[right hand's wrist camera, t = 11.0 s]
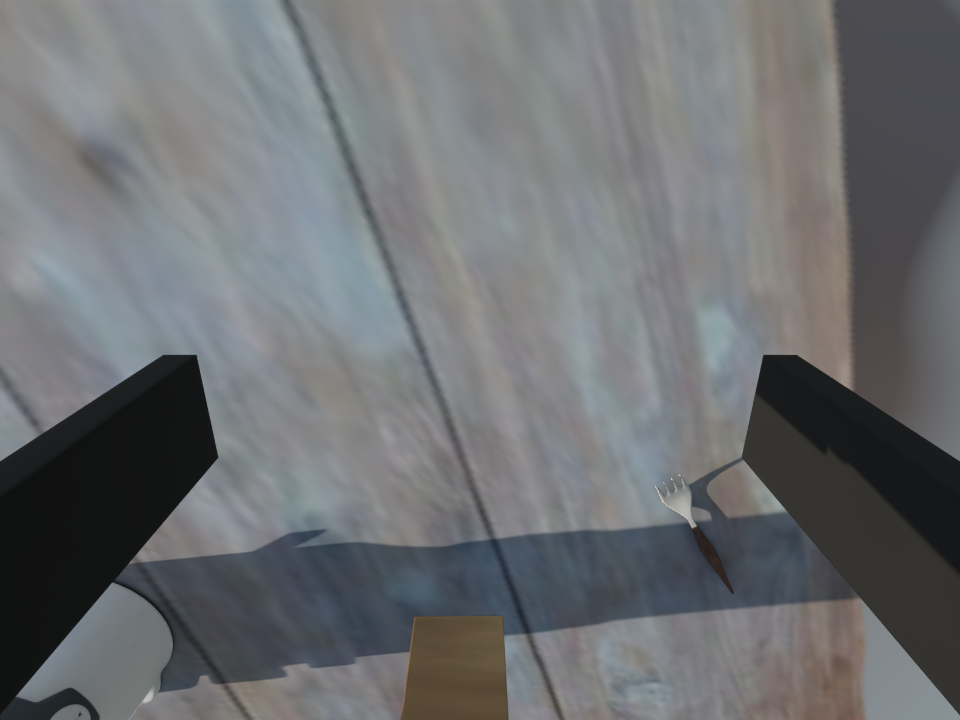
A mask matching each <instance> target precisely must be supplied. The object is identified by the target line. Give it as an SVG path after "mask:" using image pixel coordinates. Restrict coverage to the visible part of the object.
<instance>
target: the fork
mask: <svg viewBox="0 0 960 720" xmlns="http://www.w3.org/2000/svg"><path fill="white" fill-rule="evenodd" d="M679 476H680V479H681V482H682V487H679V486H678V485H677V484H676V482H675V481H674V480H673V479H672V478H671V479H672V483H673V485H674V488H675V490H673V491H672V490H671V489H670V488H669V487H668V486H667V485H666V484H665V483H664V482H663V483H664V486H665V488H666V490H667V494H663V493H662V491H661V490H660V489H659V488H658V487H657V486H655V487H656V489H657V491H658V493H659V495H660V497H661V500H662V502H663V503H664V504H665V505H666V506H668V507H669V508H671V509H672V510H674V511H676V512H677V513H679V514H681V515H683V516H684V517H685V518H686V519H687V520H688V521H689V523H690V525H691V527H692V530H693V532H694V535H695V537H696V540H697V542H698V544H699V547H700V549H701V551H702V553H703V555H704V557H705V558H706V560H707V561H708V562H709V564H710V565H711V566H712V567H713V569H714V570H715V571H716V572H717V574H718V575H719V576H720V578H721V579H722V580H723V582H724V583H725V585H726V586H727V587H728V589H729V590H730V591H731V593H732V594H733V593H734V592H733V589H732V587H731V585H730V583H729V580H728V578H727V576H726V573H725V571H724V569H723V566H722V564H721V561H720V559H719V556H718V554H717V552H716V550H715V549H714V547H713V546H712V544H711V543H710V542H709V540H708V539H707V538H706V536H705V535H704V534H703V532H702V531H701V530H700V529H699V527H698V526H697V525H696V523H695V522H694V520H693V519H692V515H691V505H692V493H691V489H690V487H689V486H688V485H687V483H686V482H685V480H684V479H683V478H682V476H681V475H680V474H679Z"/></svg>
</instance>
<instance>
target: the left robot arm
mask: <svg viewBox="0 0 960 720" xmlns="http://www.w3.org/2000/svg"><path fill="white" fill-rule="evenodd" d="M172 650H173V639H172V635H171V632H170V629H169V627H168V625H167V623H166V621H165V620H164V618H163V617H162V615H161V614H160V613H159V612H158V611H157V610H156V609H155V608H154V607H153V606H152V605H151V604H150V603H149V602H148V601H146V600H145V599H144V598H142V597H141V596H139V595H138V594H136V593H135V592H133V591H131V590H129V589H127V588H125V587H123V586H121V585H118V584H115V583H113V582H112V584H111V585H110V586H109V587H108V588H107V590H106V591H105V592H104V593H103V594H102V595H101V597H100V598H99V599H98V600H97V601H96V603H95V604H94V605H93V606H92V607H91V608H90V610H89V611H88V612H87V613H86V614H85V616H84V617H83V618H82V619H81V620H80V621H79V623H78V624H77V625H76V626H75V627H74V629H73V630H72V631H71V632H70V633H69V634H68V636H67V637H66V638H65V639H64V640H63V642H62V643H61V644H60V645H59V646H58V647H57V649H56V650H55V651H54V652H53V653H52V654H51V656H50V657H49V658H48V659H47V660H46V662H45V663H44V664H43V665H42V666H41V667H40V669H39V670H38V671H37V672H36V673H35V675H34V676H33V677H32V678H31V679H30V680H29V682H28V683H27V684H26V685H25V686H24V688H23V689H22V690H21V691H20V692H19V693H18V695H17V696H16V697H15V698H14V699H13V701H12V702H11V703H10V704H9V705H8V706H7V708H6V709H5V710H4V711H3V712H2V714H1V715H0V720H130V718H131V717H132V716H133V714H134V713H135V711H136V710H137V709H138V707H139V706H140V704H141V703H147V702H150V701H152V700H153V699H154V698H155V696H156V695H157V693H158V692H159V690H160V686H161V676H160V675H161V672H162V671H163V669H164V668H165V666H166V665H167V663H168V662H169V660H170V658H171V655H172Z"/></svg>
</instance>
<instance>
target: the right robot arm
mask: <svg viewBox="0 0 960 720" xmlns="http://www.w3.org/2000/svg"><path fill="white" fill-rule="evenodd" d="M217 458H218V454H217V449H216V444H215V440H214V435H213V430H212V426H211V421H210V416H209V412H208V407H207V402H206V397H205V393H204V388H203V383H202V379H201V374H200V369H199V365H198V360H197V355H163V356H161V357H160V358H158V359H156V360H155V361H153V362H152V363H150V364H149V365H147V366H146V367H144V368H143V369H141V370H140V371H138V372H137V373H135V374H133V375H132V376H130V377H129V378H127V379H126V380H124V381H123V382H121V383H120V384H118V385H117V386H115V387H114V388H112V389H110V390H109V391H107V392H106V393H104V394H103V395H101V396H100V397H98V398H97V399H95V400H94V401H92V402H91V403H89V404H88V405H86V406H84V407H83V408H81V409H80V410H78V411H77V412H75V413H74V414H72V415H71V416H69V417H68V418H66V419H65V420H63V421H61V422H60V423H58V424H57V425H55V426H54V427H52V428H51V429H49V430H48V431H46V432H45V433H43V434H42V435H40V436H38V437H37V438H35V439H34V440H32V441H31V442H29V443H28V444H26V445H25V446H23V447H22V448H20V449H19V450H17V451H16V452H14V453H12V454H11V455H9V456H8V457H6V458H5V459H3V460H2V461H0V715H1V714H2V712H3V711H4V710H5V709H6V708H7V706H8V705H9V704H10V703H11V702H12V701H13V699H14V698H15V697H16V696H17V695H18V693H19V692H20V691H21V690H22V689H23V688H24V686H25V685H26V684H27V683H28V682H29V680H30V679H31V678H32V677H33V676H34V675H35V673H36V672H37V671H38V670H39V669H40V667H41V666H42V665H43V664H44V663H45V662H46V660H47V659H48V658H49V657H50V656H51V654H52V653H53V652H54V651H55V650H56V649H57V647H58V646H59V645H60V644H61V643H62V642H63V640H64V639H65V638H66V637H67V636H68V634H69V633H70V632H71V631H72V630H73V629H74V627H75V626H76V625H77V624H78V623H79V621H80V620H81V619H82V618H83V617H84V616H85V614H86V613H87V612H88V611H89V610H90V608H91V607H92V606H93V605H94V604H95V603H96V601H97V600H98V599H99V598H100V597H101V595H102V594H103V593H104V592H105V591H106V590H107V588H108V587H109V586H110V585H111V584H112V582H113V581H114V580H115V579H116V578H117V577H118V575H119V574H120V573H121V572H122V571H123V569H124V568H125V567H126V566H127V565H128V564H129V562H130V561H131V560H132V559H133V558H134V556H135V555H136V554H137V553H138V552H139V551H140V549H141V548H142V547H143V546H144V545H145V543H146V542H147V541H148V540H149V539H150V538H151V536H152V535H153V534H154V533H155V532H156V530H157V529H158V528H159V527H160V526H161V525H162V523H163V522H164V521H165V520H166V519H167V517H168V516H169V515H170V514H171V513H172V512H173V510H174V509H175V508H176V507H177V506H178V504H179V503H180V502H181V501H182V500H183V499H184V497H185V496H186V495H187V494H188V493H189V491H190V490H191V489H192V488H193V487H194V486H195V484H196V483H197V482H198V481H199V480H200V478H201V477H202V476H203V475H204V474H205V473H206V471H207V470H208V469H209V468H210V467H211V465H212V464H213V463H214V462H215V461H216V460H217ZM742 458H743V460H744V461H745V462H746V463H747V464H748V465H749V467H750V468H751V469H752V470H753V471H754V473H755V474H756V475H757V476H758V477H759V478H760V480H761V481H762V482H763V483H764V484H765V486H766V487H767V488H768V489H769V490H770V491H771V493H772V494H773V495H774V496H775V497H776V499H777V500H778V501H779V502H780V503H781V504H782V506H783V507H784V508H785V509H786V510H787V512H788V513H789V514H790V515H791V516H792V517H793V519H794V520H795V521H796V522H797V523H798V525H799V526H800V527H801V528H802V529H803V530H804V532H805V533H806V534H807V535H808V536H809V538H810V539H811V540H812V541H813V542H814V543H815V545H816V546H817V547H818V548H819V549H820V551H821V552H822V553H823V554H824V555H825V556H826V558H827V559H828V560H829V561H830V562H831V564H832V565H833V566H834V567H835V568H836V569H837V571H838V572H839V573H840V574H841V575H842V577H843V578H844V579H845V580H846V581H847V582H848V584H849V585H850V586H851V587H852V588H853V590H854V591H855V592H856V593H857V594H858V595H859V597H860V598H861V599H862V600H863V601H864V603H865V604H866V605H867V606H868V607H869V608H870V610H871V611H872V612H873V613H874V614H875V616H876V617H877V618H878V619H879V620H880V621H881V623H882V624H883V625H884V626H885V627H886V628H887V630H888V631H889V632H890V633H891V634H892V636H893V637H894V638H895V639H896V640H897V641H898V643H899V644H900V645H901V646H902V647H903V649H904V650H905V651H906V652H907V653H908V654H909V656H910V657H911V658H912V659H913V660H914V662H915V663H916V664H917V665H918V666H919V667H920V669H921V670H922V671H923V672H924V673H925V675H926V676H927V677H928V678H929V679H930V680H931V682H932V683H933V684H934V685H935V686H936V688H937V689H938V690H939V691H940V692H941V693H942V695H943V696H944V697H945V698H946V699H947V701H948V702H949V703H950V704H951V705H952V706H953V708H954V709H955V710H956V711H957V712H958V714H959V715H960V461H958V460H957V459H955V458H954V457H952V456H951V455H949V454H948V453H946V452H944V451H943V450H941V449H940V448H938V447H937V446H935V445H934V444H932V443H931V442H929V441H928V440H926V439H925V438H923V437H921V436H920V435H918V434H917V433H915V432H914V431H912V430H911V429H909V428H908V427H906V426H905V425H903V424H902V423H900V422H898V421H897V420H895V419H894V418H892V417H891V416H889V415H888V414H886V413H885V412H883V411H882V410H880V409H879V408H877V407H876V406H874V405H872V404H871V403H869V402H868V401H866V400H865V399H863V398H862V397H860V396H859V395H857V394H856V393H854V392H853V391H851V390H850V389H848V388H846V387H845V386H843V385H842V384H840V383H839V382H837V381H836V380H834V379H833V378H831V377H830V376H828V375H827V374H825V373H823V372H822V371H820V370H819V369H817V368H816V367H814V366H813V365H811V364H810V363H808V362H807V361H805V360H804V359H802V358H800V357H799V356H797V355H763V360H762V365H761V369H760V374H759V379H758V383H757V388H756V393H755V397H754V402H753V407H752V412H751V416H750V421H749V426H748V430H747V435H746V440H745V444H744V449H743V454H742Z"/></svg>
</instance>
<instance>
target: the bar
mask: <svg viewBox="0 0 960 720" xmlns="http://www.w3.org/2000/svg"><path fill="white" fill-rule="evenodd" d="M401 720H508V701H507V682H506V664H505V645H504V627H503V616H416V617H415V618H414V625H413V632H412V640H411V647H410V655H409V662H408V669H407V677H406V684H405V692H404V699H403V707H402V714H401Z"/></svg>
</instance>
